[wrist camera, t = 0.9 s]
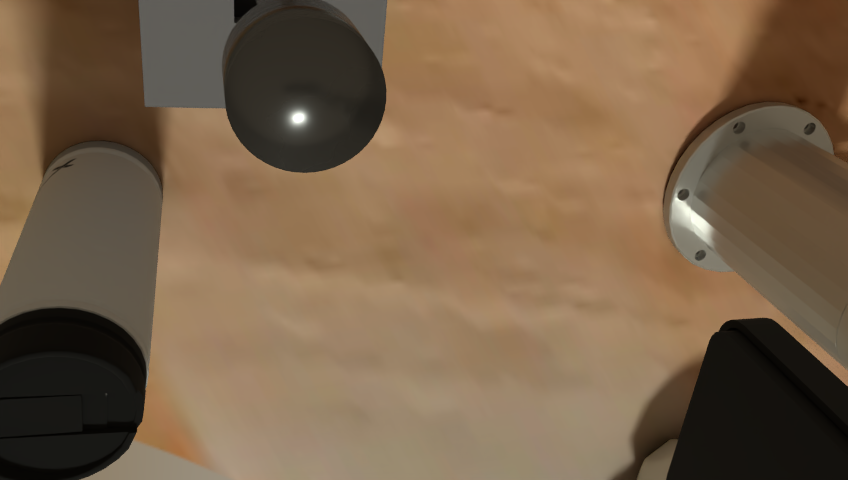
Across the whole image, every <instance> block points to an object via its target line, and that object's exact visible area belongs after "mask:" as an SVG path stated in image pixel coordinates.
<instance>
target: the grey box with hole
mask: <svg viewBox="0 0 848 480" xmlns="http://www.w3.org/2000/svg"><path fill="white" fill-rule="evenodd" d="M138 1H139V18H140V35H141V51H142V68H143V84H144V101H145V107H183V108H226V106H225V96H224V86H223V76H222V56H223V51H224V47H225V44H226V41H227V38H228V36H229V34H230V32H231V30H232V29H233V27H234V26H235V25H236V23H237V22H238V21H239V20H240V19H241V18H242V17H234V0H138ZM322 1H325V2H327V3H329V4H331V5H333V6H334V7H336V8H337V9H339V10H340V11H341V12H343V13H344V14H345V15H346V16H347V17H348V18H349V19H350V20H351V21H352V23H353V24H354V25H355V27H356V28H357V29H358V31H359V32H360V34H361V35H362V37H363V38H364V39H365V41H366V42H367V44H368V45H369V47H370V48H371V49H372V51H373V52H374V54H375V56H376V57H377V59H378V61H379V63H380V66H381V68H382V57H383V45H384V33H385V21H386V8H387V0H322Z"/></svg>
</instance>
